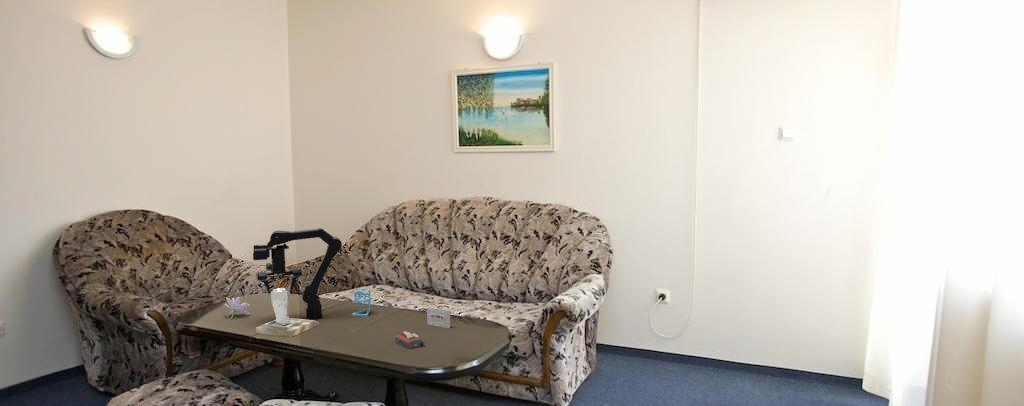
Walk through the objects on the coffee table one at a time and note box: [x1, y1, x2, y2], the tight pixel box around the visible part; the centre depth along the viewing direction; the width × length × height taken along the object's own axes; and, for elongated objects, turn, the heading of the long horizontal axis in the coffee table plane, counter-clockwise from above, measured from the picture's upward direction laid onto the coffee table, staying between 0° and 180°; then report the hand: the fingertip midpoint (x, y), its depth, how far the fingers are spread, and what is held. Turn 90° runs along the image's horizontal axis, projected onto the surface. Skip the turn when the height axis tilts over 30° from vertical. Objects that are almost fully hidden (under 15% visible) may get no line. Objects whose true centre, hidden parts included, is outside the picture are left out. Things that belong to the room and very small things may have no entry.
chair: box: [351, 289, 373, 317], centre depth 278 cm, size 8×8×12 cm
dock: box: [255, 317, 320, 338], centre depth 256 cm, size 18×18×4 cm
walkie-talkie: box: [394, 330, 425, 350], centre depth 237 cm, size 9×4×20 cm
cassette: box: [426, 306, 451, 329], centre depth 257 cm, size 12×2×8 cm, turn 59°
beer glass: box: [270, 287, 291, 326], centre depth 253 cm, size 7×7×15 cm
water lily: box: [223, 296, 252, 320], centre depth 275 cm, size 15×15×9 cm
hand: (279, 292), depth 267 cm, fingers open, 9 cm apart
